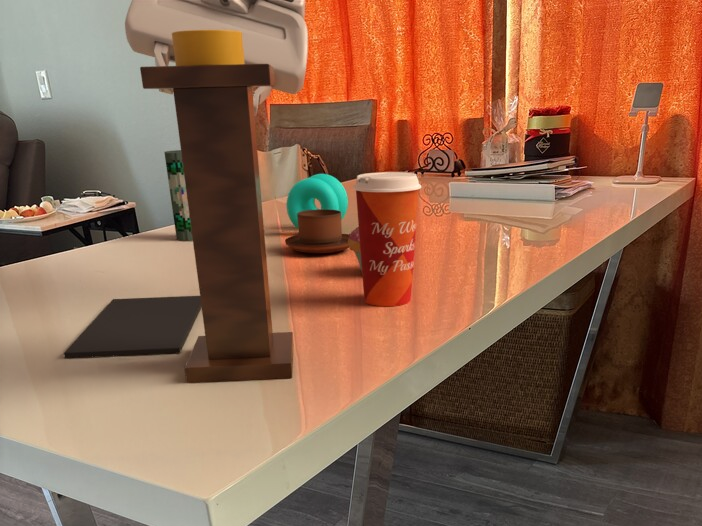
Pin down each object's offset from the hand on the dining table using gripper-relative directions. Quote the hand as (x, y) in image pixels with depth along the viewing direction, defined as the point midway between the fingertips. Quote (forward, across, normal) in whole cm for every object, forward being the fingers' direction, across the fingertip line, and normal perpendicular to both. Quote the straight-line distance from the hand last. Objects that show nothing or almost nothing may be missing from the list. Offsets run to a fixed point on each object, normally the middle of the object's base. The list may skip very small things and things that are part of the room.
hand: (207, 100), depth 80 cm
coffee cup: (+14, +26, +11) cm, 31 cm away
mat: (+24, -4, +10) cm, 26 cm away
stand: (+30, +9, -4) cm, 32 cm away
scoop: (+7, +2, -15) cm, 17 cm away
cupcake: (+4, +26, +24) cm, 35 cm away
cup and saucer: (-5, +18, +39) cm, 43 cm away
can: (-11, -6, +56) cm, 58 cm away
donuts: (-17, +18, +54) cm, 60 cm away
